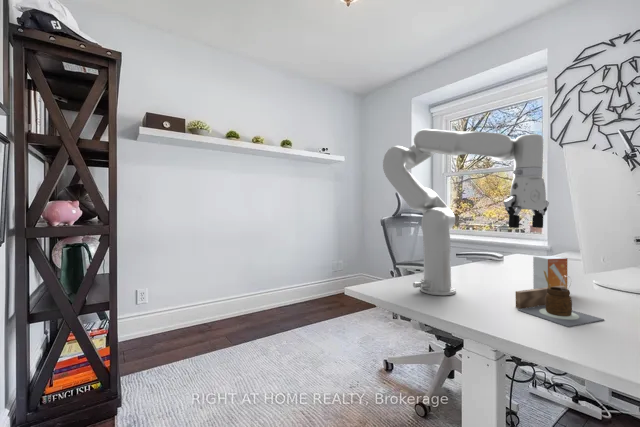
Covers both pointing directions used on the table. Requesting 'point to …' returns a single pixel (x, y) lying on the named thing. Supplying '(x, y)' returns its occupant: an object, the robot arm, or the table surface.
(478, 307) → the table surface
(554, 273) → the small box
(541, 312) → the mat
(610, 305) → the table surface
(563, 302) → the utensil holder
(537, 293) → the low wall
